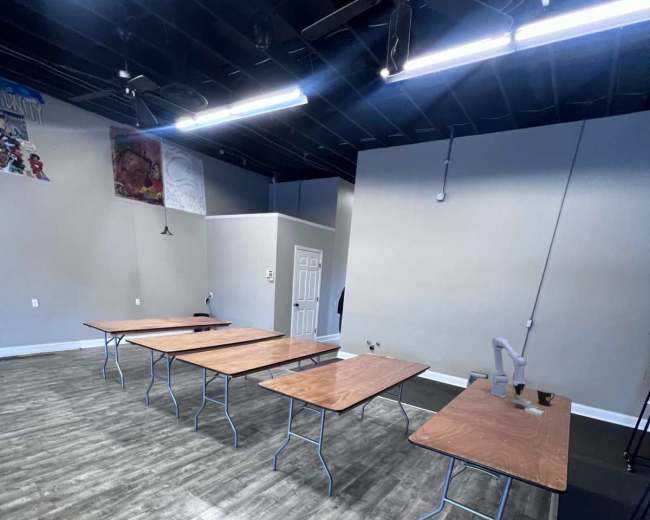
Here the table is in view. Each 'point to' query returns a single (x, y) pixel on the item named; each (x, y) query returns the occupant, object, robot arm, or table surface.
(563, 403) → the table surface
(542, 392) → the coffee mug
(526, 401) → the turner
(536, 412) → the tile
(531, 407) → the mat
